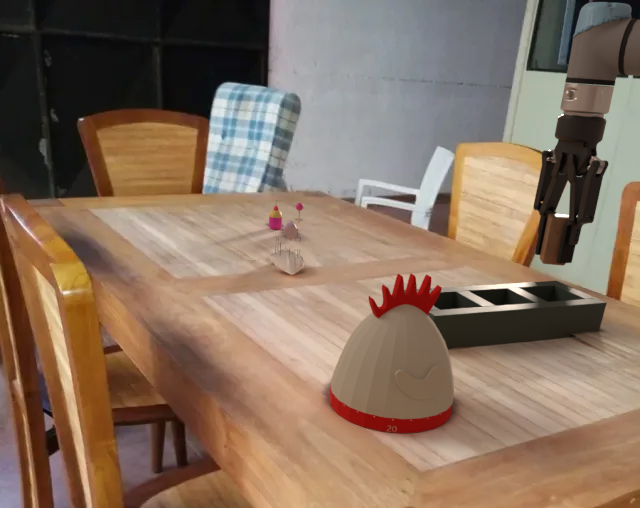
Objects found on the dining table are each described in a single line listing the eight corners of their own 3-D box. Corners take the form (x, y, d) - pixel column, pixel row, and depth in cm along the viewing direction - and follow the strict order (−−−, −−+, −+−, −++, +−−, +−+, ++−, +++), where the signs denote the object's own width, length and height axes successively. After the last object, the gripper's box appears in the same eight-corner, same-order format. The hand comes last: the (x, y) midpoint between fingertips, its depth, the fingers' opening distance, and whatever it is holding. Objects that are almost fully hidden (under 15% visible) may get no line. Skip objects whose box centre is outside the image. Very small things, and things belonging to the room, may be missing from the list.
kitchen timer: (474, 425, 77) (500, 292, 70) (359, 439, 73) (374, 298, 66) (415, 374, 89) (432, 255, 82) (312, 384, 84) (321, 258, 77)
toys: (308, 240, 148) (310, 210, 145) (270, 238, 147) (271, 208, 144) (302, 221, 163) (303, 194, 161) (267, 220, 162) (268, 192, 160)
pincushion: (309, 278, 123) (311, 245, 120) (274, 277, 122) (275, 244, 119) (297, 259, 133) (299, 229, 131) (265, 259, 132) (266, 228, 130)
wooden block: (542, 264, 123) (551, 217, 120) (538, 258, 127) (548, 212, 123) (565, 266, 123) (575, 219, 119) (561, 260, 126) (571, 214, 123)
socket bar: (598, 334, 107) (607, 302, 105) (429, 351, 96) (434, 316, 94) (549, 310, 116) (556, 280, 114) (390, 322, 105) (394, 290, 103)
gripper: (528, 109, 120) (504, 246, 130) (605, 119, 105) (570, 273, 116) (563, 110, 123) (537, 245, 133) (643, 120, 108) (606, 271, 119)
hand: (552, 258), depth 124 cm, fingers closed on wooden block, 5 cm apart
